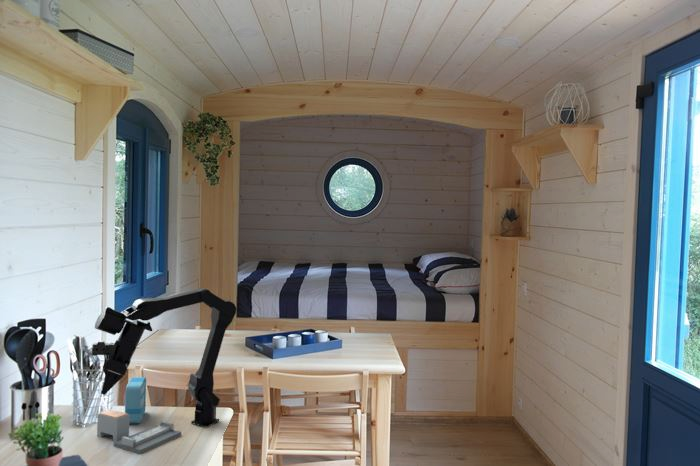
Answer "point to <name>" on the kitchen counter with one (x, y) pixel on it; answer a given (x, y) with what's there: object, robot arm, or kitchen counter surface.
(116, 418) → the rail module
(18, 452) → the kitchen counter surface
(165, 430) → the rail mount
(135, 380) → the blue block
